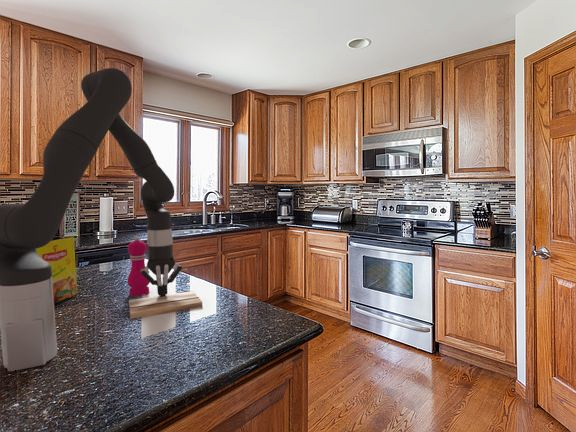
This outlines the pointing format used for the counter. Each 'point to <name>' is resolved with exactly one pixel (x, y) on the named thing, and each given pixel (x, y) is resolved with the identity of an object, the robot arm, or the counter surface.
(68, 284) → the food package
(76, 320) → the counter surface
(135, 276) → the pepper mill
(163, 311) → the oak plank
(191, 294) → the ash plank
